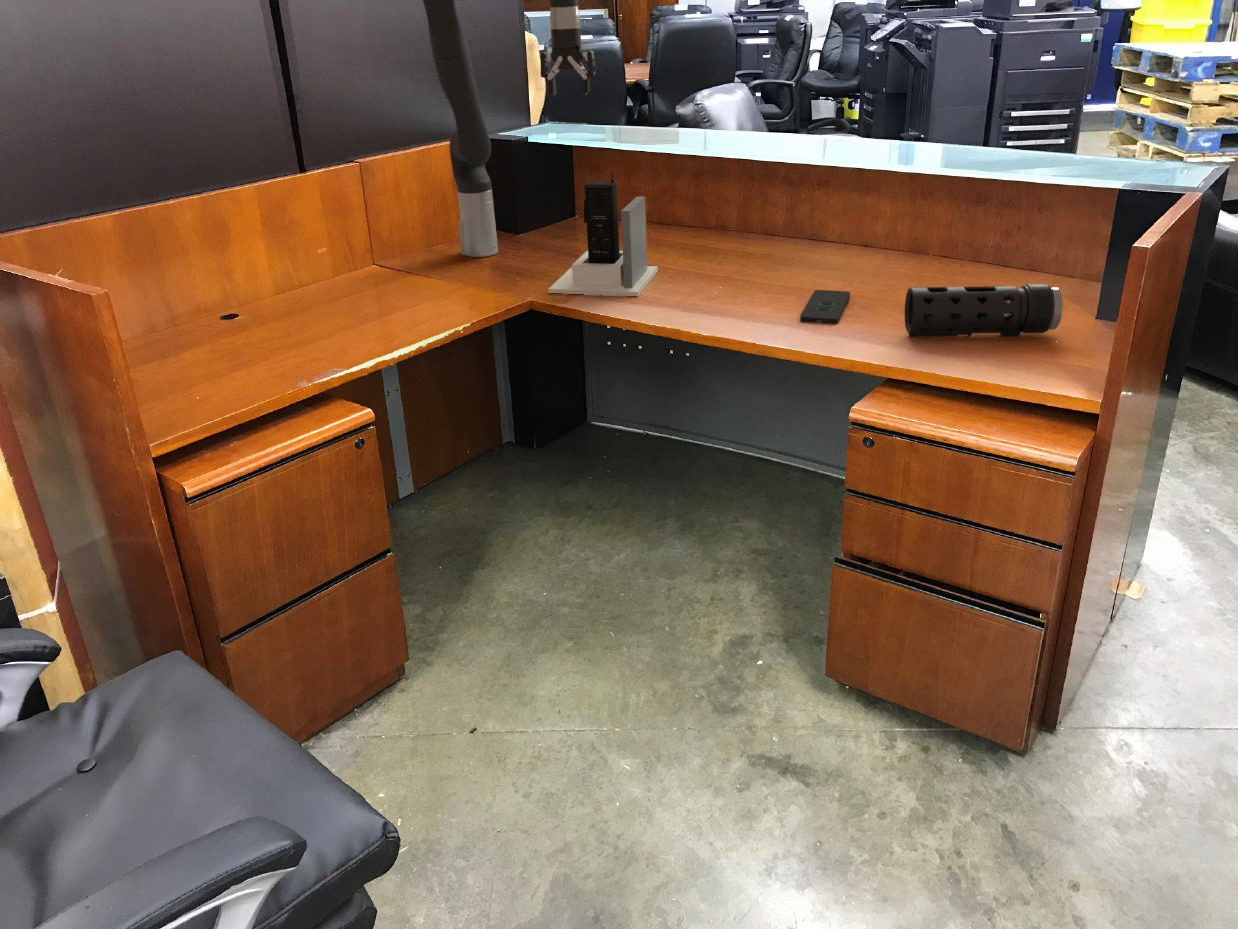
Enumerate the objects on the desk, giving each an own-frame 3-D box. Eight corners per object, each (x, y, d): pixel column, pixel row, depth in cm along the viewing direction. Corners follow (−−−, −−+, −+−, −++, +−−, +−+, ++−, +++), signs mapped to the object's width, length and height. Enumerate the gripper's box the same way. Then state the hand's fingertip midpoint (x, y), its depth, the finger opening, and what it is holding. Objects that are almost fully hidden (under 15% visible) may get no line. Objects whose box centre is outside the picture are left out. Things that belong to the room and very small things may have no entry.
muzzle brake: (902, 329, 197) (906, 280, 192) (1043, 327, 194) (1052, 277, 189) (910, 345, 188) (915, 294, 184) (1058, 343, 185) (1067, 291, 181)
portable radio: (584, 279, 234) (578, 174, 223) (591, 273, 239) (585, 170, 228) (615, 281, 232) (610, 175, 221) (622, 274, 237) (617, 170, 226)
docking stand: (548, 293, 229) (542, 212, 221) (574, 268, 248) (569, 193, 239) (637, 296, 224) (635, 213, 215) (657, 270, 243) (655, 193, 234)
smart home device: (798, 315, 203) (814, 288, 220) (798, 323, 204) (814, 296, 220) (838, 318, 200) (851, 290, 217) (838, 326, 201) (850, 298, 218)
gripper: (533, 28, 240) (539, 97, 248) (588, 26, 237) (592, 96, 244) (543, 26, 247) (548, 93, 254) (596, 24, 243) (599, 92, 251)
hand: (569, 94), depth 249 cm, fingers open, 8 cm apart
